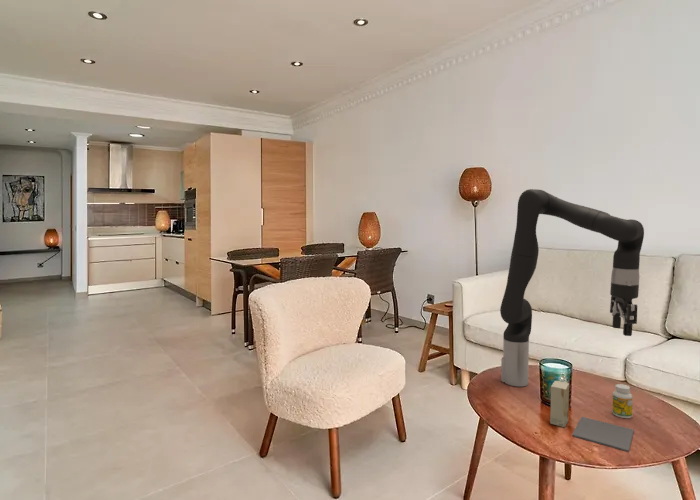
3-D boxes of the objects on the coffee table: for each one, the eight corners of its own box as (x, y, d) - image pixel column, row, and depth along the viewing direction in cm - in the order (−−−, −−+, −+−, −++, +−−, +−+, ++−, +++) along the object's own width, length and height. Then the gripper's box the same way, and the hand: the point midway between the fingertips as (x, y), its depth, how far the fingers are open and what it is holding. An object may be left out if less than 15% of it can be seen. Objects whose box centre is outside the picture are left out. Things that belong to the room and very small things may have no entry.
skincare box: (565, 428, 129) (565, 389, 128) (549, 424, 131) (550, 386, 130) (568, 419, 134) (569, 382, 133) (554, 416, 136) (554, 379, 135)
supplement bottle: (635, 416, 135) (636, 387, 134) (625, 420, 133) (626, 391, 132) (618, 409, 140) (619, 381, 139) (608, 413, 138) (609, 385, 137)
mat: (572, 436, 124) (572, 434, 124) (581, 417, 135) (581, 416, 135) (628, 452, 115) (628, 450, 115) (633, 431, 126) (633, 429, 126)
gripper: (603, 278, 141) (600, 325, 143) (620, 285, 127) (617, 337, 129) (628, 278, 140) (625, 326, 141) (648, 286, 126) (645, 339, 127)
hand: (621, 331), depth 135 cm, fingers open, 8 cm apart
